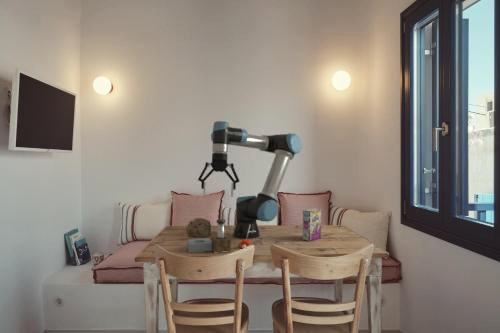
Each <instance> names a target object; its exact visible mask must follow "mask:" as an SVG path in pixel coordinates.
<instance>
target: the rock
mask: <svg viewBox="0 0 500 333" xmlns="http://www.w3.org/2000/svg"><path fill="white" fill-rule="evenodd" d="M185 229H186V234H187V236H188V237H190V236H193V237H199V238H209V236H211V233H212V224H211V221H210V220H208V219H205V218H202V217H196V218H194V219H193V220H189V222H188V224H187V225H186V227H185Z"/></svg>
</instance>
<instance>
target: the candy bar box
mask: <svg viewBox="0 0 500 333" xmlns="http://www.w3.org/2000/svg"><path fill="white" fill-rule="evenodd" d="M321 229H322V209H321V208H310V209H304V210H302V241H306V242H311V241H315V240H318V239H321V238H322V237H321V236H322V234H321V233H322V231H321Z"/></svg>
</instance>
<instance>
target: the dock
mask: <svg viewBox="0 0 500 333" xmlns="http://www.w3.org/2000/svg"><path fill="white" fill-rule="evenodd" d="M186 241H187V243H186V244H187V246H186V247H187V251H188V253H189V254H191V253H190V252H196V253H204V252H203V251H210V252H213V250H212V239H210V237H200V238H189V239H187V240H186Z"/></svg>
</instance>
